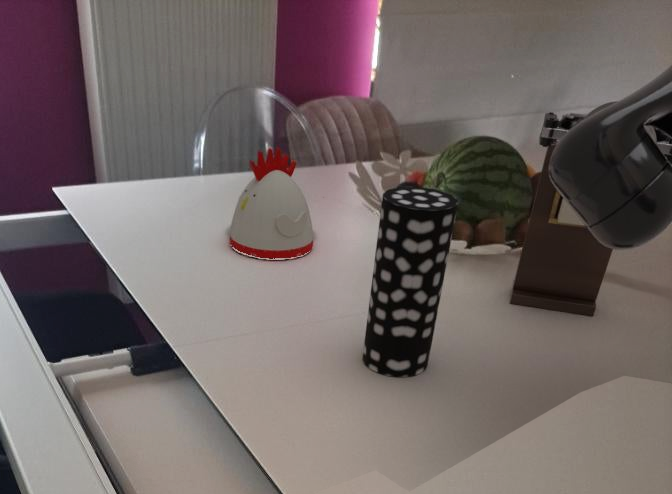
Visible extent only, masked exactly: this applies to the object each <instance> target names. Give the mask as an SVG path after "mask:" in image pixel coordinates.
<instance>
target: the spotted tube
mask: <svg viewBox="0 0 672 494" xmlns="http://www.w3.org/2000/svg"><path fill="white" fill-rule="evenodd" d="M458 207H459V200H458V199H457V197H455V195H453V194H450V193H449V192H446V191H444V190H443V191H442V190H439V189H435V188H431V187H430V188H429V187H423V186H399V187H397V186H396V187H392V188H388V189H386V190H385V191H383V193H382V199H381V207H380V215H379V222H378V229H377V230H378V231H377V238H376V246H375V254H374V262H373V271H372V278H371V287H370V294H369V301H368V302H369V303H368V310H367V319H366V327H365V334H364V341H363V342H364V343H363V350H362V362H363V364H364V365H365V366H366V367H367V368H368V369H369V370H371V371H373V372H376V373H378V374H381V375H383V376H388V377H395V378H408V377H414V376H417V375H420V374H422V373H424V372H425V371H426V370H427V369H428V365H429V359H430V354H431V351H432V350H431V349H432V346H433V345H432V344H433V339H434V333H435V328H436V322H437V318H438V312H439V307H440V302H441V296H442V291H443V286H444V281H445V276H446V275H445V274H446V269H447V264H448V259H449V254H450V250H451V245H452V238H453V233H454V229H455V228H454V227H455V223H456V217H457V211H458Z"/></svg>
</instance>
